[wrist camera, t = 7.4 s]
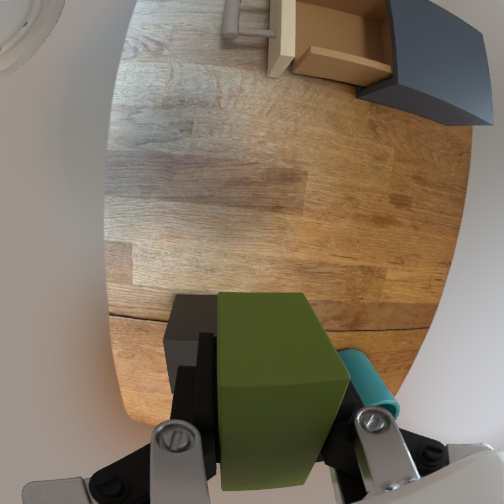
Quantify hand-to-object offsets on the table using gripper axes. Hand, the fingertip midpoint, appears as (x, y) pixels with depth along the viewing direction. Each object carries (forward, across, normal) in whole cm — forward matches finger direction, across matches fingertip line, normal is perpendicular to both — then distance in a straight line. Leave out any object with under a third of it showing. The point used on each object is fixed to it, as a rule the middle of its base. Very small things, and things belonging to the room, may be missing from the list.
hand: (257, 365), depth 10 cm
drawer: (+20, -7, -22) cm, 31 cm away
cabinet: (+21, -20, -22) cm, 36 cm away
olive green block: (0, 0, 0) cm, 0 cm away
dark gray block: (+21, +4, +11) cm, 24 cm away
